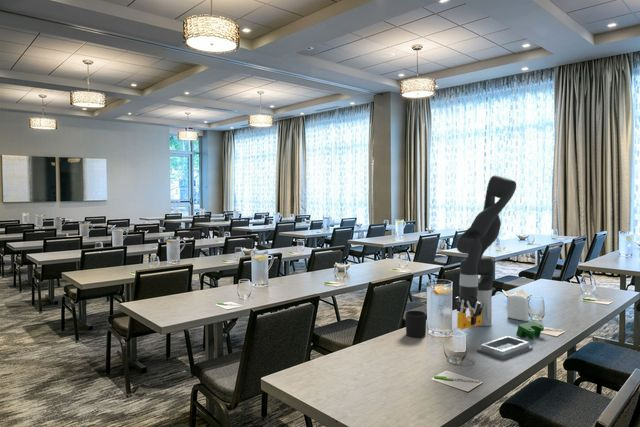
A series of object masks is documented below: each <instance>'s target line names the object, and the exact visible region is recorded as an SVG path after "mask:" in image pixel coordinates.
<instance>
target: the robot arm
mask: <svg viewBox="0 0 640 427" xmlns="http://www.w3.org/2000/svg"><path fill="white" fill-rule="evenodd" d="M516 189H517V182H516V181H515V180H513V179H510V178H507V177H504V176H500V175H497V174H496V175H492V176H490V179H489V181H488V184H487V186H486V193H485V199H484V204H483V210H482V211H480V212H479V213H478V214H477V215H476V216H475V218H474V219H473V222H472V223H471V224H470V227H469V228H467V229H466V230H465V231H464V232H463V233H462V234H461V235H460V236H459V237H458V240H457V241H456V250H457V252H459V253H461V254H465V255H467V258H465V259H462V260H461V261H460V262H459V263H460V264H459V265H460V266H459V270H460V271H459V272H460V273H459V284H458V285H459V296H457V297H456V296H455V297H454V299H453V300H454V303H455V304H454V305H455V309H456V311H457V312H458V313H459V312H462V313H466V312H467V309H468V311H469V316H470V315H471V316H472V317H471V325H475V324H476V317H477V316H480V315H481V312H482V325H478V326H479V327H480V326H481V327H489V326H491V325H492V324H493V323H492V318H493V317H492V312H493V311H492V309H493V308H492V303H493V302H492V291H493V290H492V287H493V283H494V282H493V281H494V261H493V259H492V257H491V256H489V255H484V254H485V252H486V251H487V249H488V248H489V247H490V246H492V245H493V243H494V242H495V241H496V240H497V238H498V236H499V233H500V229H501V225H502V221H501V219H500V215H499V214H500V213H501V212H502V211H503V209H504V208H505V207H506V205H507V204H508V203H509V202H510V200H511V199H512V197H513V196H514V194H515V191H516ZM496 198H497V199H498V200H497V202H496ZM478 276H480V277H478ZM466 314H467V313H466Z"/></svg>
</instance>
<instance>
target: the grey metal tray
mask: <svg viewBox="0 0 640 427" xmlns="http://www.w3.org/2000/svg"><path fill="white" fill-rule="evenodd" d="M533 350H534V347H533V346H531V345H530V341H526V340H523V339H519V338H516V337H513V336H509V335H506V336H503V337H500V338H497V339H493V340H490V341H487V342H484V343H482V344H480V348H477V350H476V352H478V353H480V354H483V355H486V356H489V357H491V358H495V359H498V360H501V361H506V360H509V359H512V358H513V357H517V356H519V355H522V354H525V353H527V352H530V351H533Z"/></svg>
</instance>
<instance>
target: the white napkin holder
mask: <svg viewBox="0 0 640 427" xmlns="http://www.w3.org/2000/svg"><path fill="white" fill-rule="evenodd" d="M506 300H507V302H506V304H507V305H506V306H507V309H506V310H507V314H506V315H507V318H509V319H513V320H517V321H518V320H519V321H522V322H523V321H524V322H529V318H530V317H529V315H530V314H529V298H528V297H527V296H524V295H521V294H509V295H508V296H507V299H506Z"/></svg>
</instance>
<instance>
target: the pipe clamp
mask: <svg viewBox="0 0 640 427" xmlns="http://www.w3.org/2000/svg"><path fill="white" fill-rule="evenodd" d="M471 317H472V316H471V315H470V314H469V315H468V316H467V313H462V312H459V311H458V312H457V320H456V322H457V327H456V328H457V329H460V330H466V329H470V328H473V327H476V326H478V325H482V312H481V315H480V316H477V317H476V324H475V325H471Z"/></svg>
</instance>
